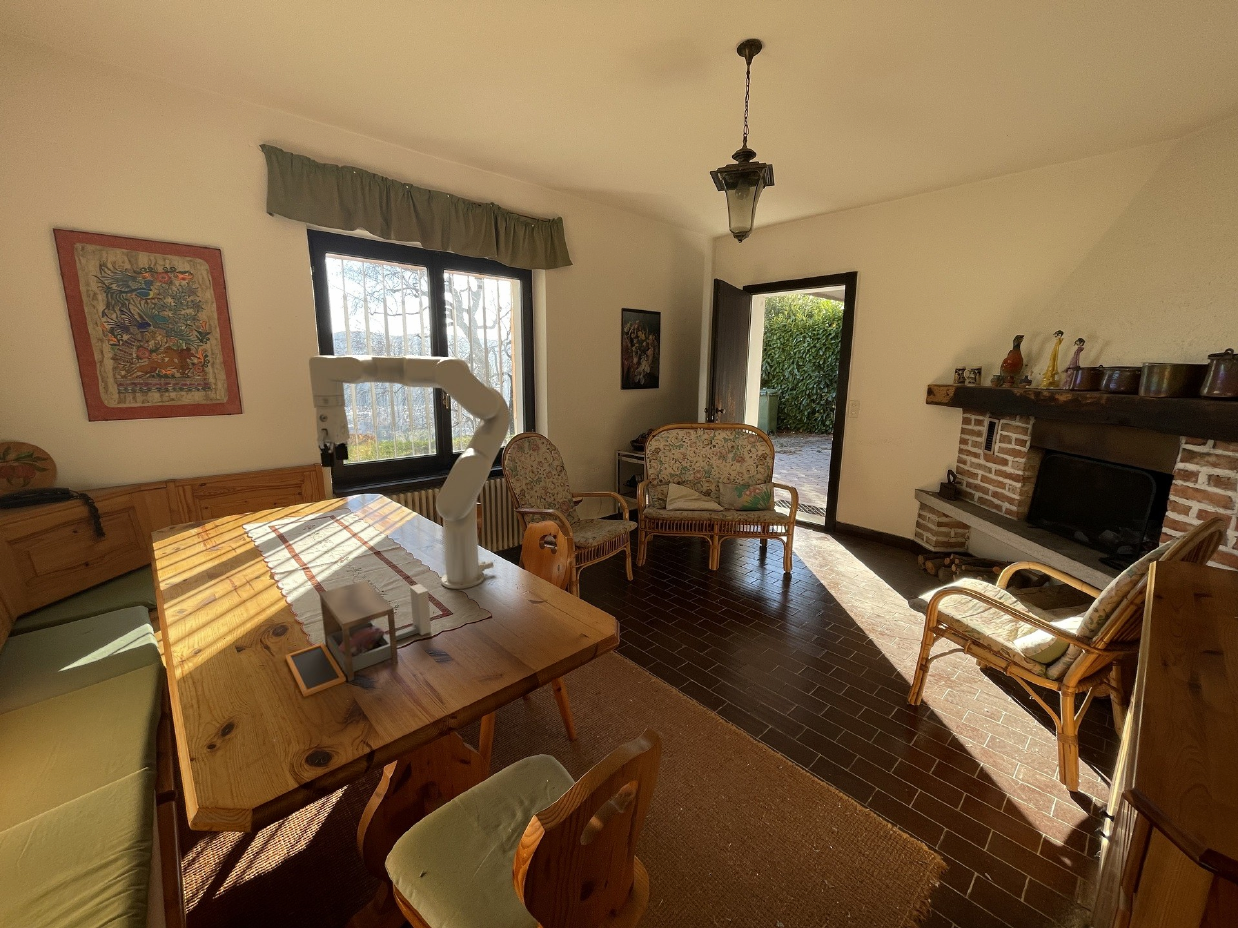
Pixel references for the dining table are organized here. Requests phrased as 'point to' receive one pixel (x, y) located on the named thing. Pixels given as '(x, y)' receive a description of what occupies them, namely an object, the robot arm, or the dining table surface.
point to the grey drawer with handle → (380, 654)
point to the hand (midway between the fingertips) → (335, 463)
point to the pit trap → (314, 669)
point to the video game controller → (363, 639)
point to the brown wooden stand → (355, 615)
